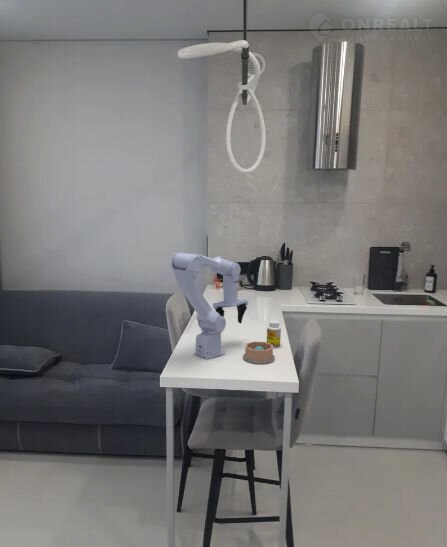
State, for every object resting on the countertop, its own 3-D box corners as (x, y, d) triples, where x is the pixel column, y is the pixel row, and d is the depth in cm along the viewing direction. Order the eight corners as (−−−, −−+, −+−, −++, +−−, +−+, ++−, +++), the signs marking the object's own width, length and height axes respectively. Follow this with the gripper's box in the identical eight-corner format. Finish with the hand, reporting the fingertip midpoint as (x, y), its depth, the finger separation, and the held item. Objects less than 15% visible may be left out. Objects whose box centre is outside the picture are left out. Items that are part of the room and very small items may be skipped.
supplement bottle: (263, 345, 189) (264, 321, 187) (273, 342, 192) (274, 319, 190) (272, 349, 184) (273, 324, 183) (282, 346, 188) (284, 322, 186)
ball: (258, 359, 171) (258, 349, 170) (251, 356, 174) (251, 346, 173) (266, 356, 173) (266, 346, 172) (259, 353, 176) (259, 343, 175)
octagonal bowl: (258, 366, 165) (258, 353, 164) (236, 357, 174) (236, 344, 173) (281, 359, 173) (281, 347, 172) (259, 351, 182) (259, 338, 181)
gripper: (216, 295, 176) (217, 329, 179) (251, 291, 181) (251, 324, 184) (210, 291, 183) (211, 323, 186) (244, 287, 188) (244, 319, 191)
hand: (231, 323), depth 185 cm, fingers open, 7 cm apart
